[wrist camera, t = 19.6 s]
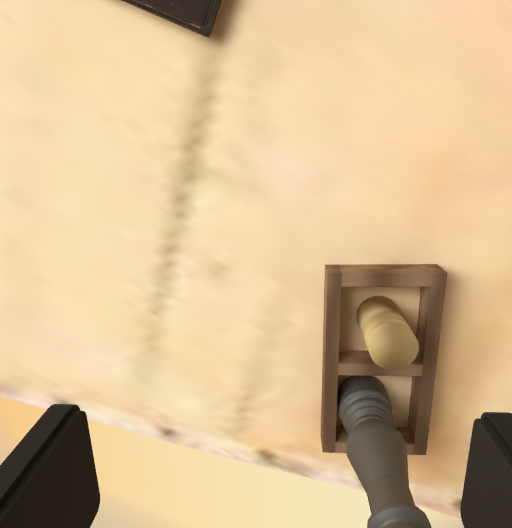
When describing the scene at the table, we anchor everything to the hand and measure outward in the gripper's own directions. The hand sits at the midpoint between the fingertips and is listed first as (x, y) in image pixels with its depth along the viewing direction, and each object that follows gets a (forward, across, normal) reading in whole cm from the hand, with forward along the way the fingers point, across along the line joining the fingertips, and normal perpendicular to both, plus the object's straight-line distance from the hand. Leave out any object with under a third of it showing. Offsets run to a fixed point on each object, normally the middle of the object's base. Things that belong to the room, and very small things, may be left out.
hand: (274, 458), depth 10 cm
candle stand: (+38, -11, +19) cm, 44 cm away
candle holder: (+38, -10, +25) cm, 47 cm away
